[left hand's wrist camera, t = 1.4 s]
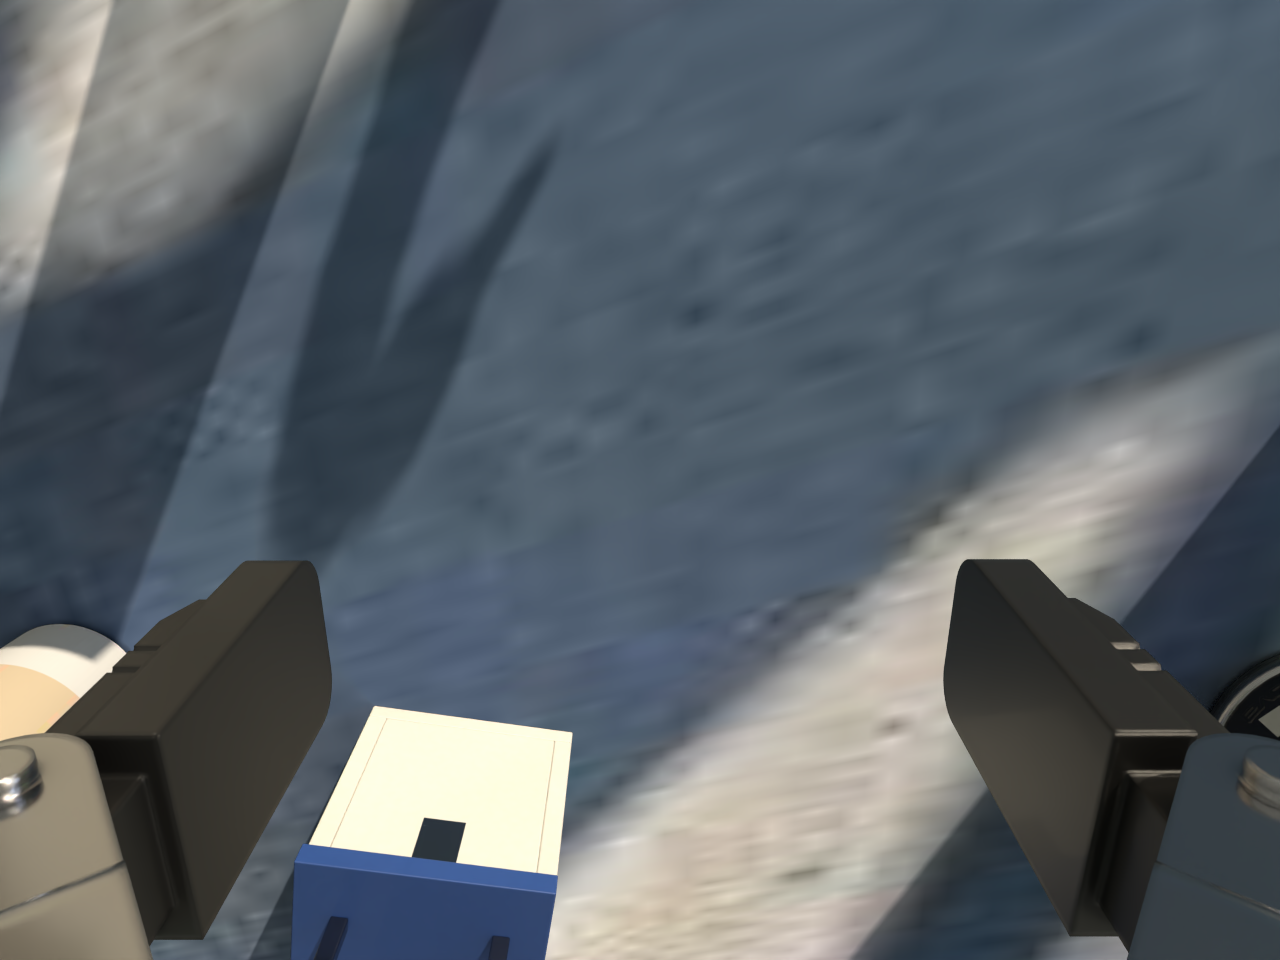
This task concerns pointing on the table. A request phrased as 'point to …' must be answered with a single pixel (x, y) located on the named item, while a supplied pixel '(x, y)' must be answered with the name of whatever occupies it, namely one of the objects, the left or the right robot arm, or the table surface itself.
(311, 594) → the left robot arm
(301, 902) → the lid
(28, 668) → the coffee cup
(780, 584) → the table surface
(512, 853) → the chest
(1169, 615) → the table surface
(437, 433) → the table surface
